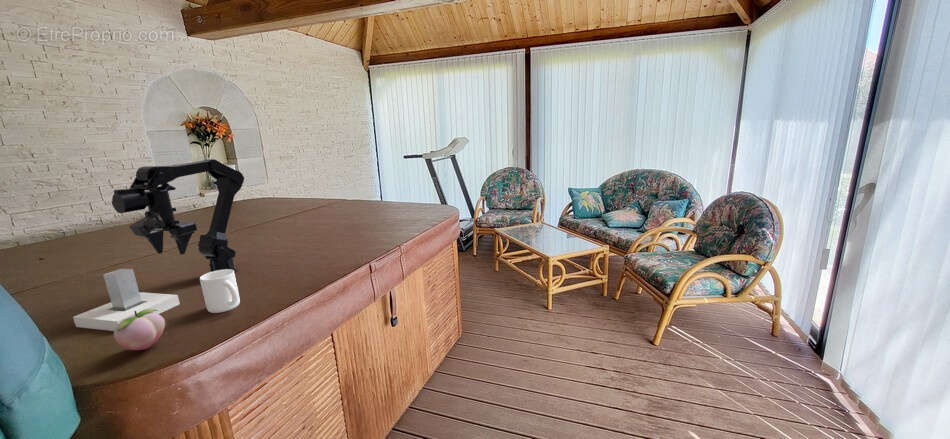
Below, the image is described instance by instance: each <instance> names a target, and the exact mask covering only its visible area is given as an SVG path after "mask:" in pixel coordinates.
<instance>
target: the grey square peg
mask: <svg viewBox="0 0 950 439" xmlns="http://www.w3.org/2000/svg"><path fill="white" fill-rule="evenodd" d="M102 276H103V279H104V282H105V286H106V289H107V291H108V292H107V293H108V296H109V299H110V302H111V303H112V306H113V310H114V311H126V310H129V309H131V308H133V307H136V306H138V305H141V304H142V301H141V297H140V293H139V292H140V291H139V287H138V286H139V285H138V283H137V279H136V276H135V271H134V269H133V268H119V269H116V270H113V271H110V272H106V273H104V274H103V275H102Z"/></svg>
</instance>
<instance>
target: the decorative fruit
mask: <svg viewBox="0 0 950 439" xmlns="http://www.w3.org/2000/svg"><path fill="white" fill-rule="evenodd" d="M153 311H158V310H156V309H146V310H143V311H140V312H138V313H136V311H134V313H135V314H134V315H131V316H129V317H127V318H125V319H123V320H122V321H121V322H120V323H119V324H118V325H117V326H116V328H115V330H114V331H113V338H114V340H115V342H116V343H117V344H118V345H119V346H121V347H122V348H124V349H126V350H129V351H144V350H147V349H149V348H150V347H152V345H154V344H155V343H156V342H157V341H158V340H159V339H160V338H161V336H162V334H163V332H164V330H165V327H166V320H165V318H164V317H163V316H162V315H161V314H157V313H153Z"/></svg>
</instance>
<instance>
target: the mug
mask: <svg viewBox="0 0 950 439" xmlns="http://www.w3.org/2000/svg"><path fill="white" fill-rule="evenodd" d="M235 273H236V272H234V270H231V269H224V270H217V271H213V272H211V271H210V272H206V273H204V274H202V275H201V276H200V277H199V282H200V285H201V286H200V287H201V290H202V294H203V298H204V304H205V307H206V309H207V310H206V311H208V312H209V313H210V314H212V313H213V314H219V313H225V312H228V311H231V310H233V309H235V308H237V307H238V306H239V305H240V303H241V300H240V299H241V298H240V294H239V288H238V284H237V280H236V275H235Z"/></svg>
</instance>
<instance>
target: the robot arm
mask: <svg viewBox="0 0 950 439" xmlns="http://www.w3.org/2000/svg"><path fill="white" fill-rule="evenodd" d="M206 172H207V173H208V174H209V176H210V177H211V178H212V179H214V180H216V182H215V183H216V187H217V191H218V194H217V199H216V203H215V207H214V210H213V214H212V219H211V223H210V226H209V230H208V231H207V233H205V234H200V236H199V241H198V243H197V247H198V251H199V253H200V254H201V255H202V256H204V257H205V259H206V260H209V270H210V272H213V271H217V270H224V269H231V270H234V273H236V272H237V271H238V268H235V263H234V258H236V251H235V250H234V249H232V248H230V247H229V245H228V244H229V240H228V237H227V233H226V232H227V229H228V224H229V219H230V216H231V211H232V208H233V204H234V199H235V196H236V195H237V194H238V192H239V191H240V190H241V189H242V186H243V184H244V182H245V176H244V175H243V173H242V172H241V171H239V170H235V169H234V168H232V167H231V166H228V165H226V164H223V163H222V162H221V161H218V160H217V159H214V158H207V159H206V158H205V159H203V160H198V161H193V162H186V163H182V164H181V163H180V164H175V165H168V166H167V165H154V166H153V165H152V166H150V165H149V166H147V165H146V166H139V168H137V170H136V171H135V178H134V180H133V181H132V183H131V185H130V187H129V188H127V189H126V188H125V189H121V188H120V189H114V190H113V195H112V197H111V200H112V201H111V205H112V207H113V209H114V210H115V211H116V212H117V213H118V214H125V213H132V212H136V211H142V210H146V208H147V210H146V211H144V217H142V218H141V219H138V220H137V221H134V222H133V223H131V224H130V225H129V230H131V231H132V233H133V234H134V236H138V237H141V238H144V239H146V240H147V241H148V242H149V243H150V245H151V246H152V247H153V249H154V250H155V251H156V253H157V254H159V255H160V254H163V250H164V232H168V233H169V234H170V235H169V237H170V238H171V239H174V241H175V243H176V246H177V250H178V252H179V254H180V255H186V252H187V248H188V246H189V244H190V240H191V238H192V235H193V234H195V232H196V231H198V228H197V224H196V223H194V222H191V221H187V222H180V221H179V219H177V220H176V217H175V215H174V212H177V209H176V208H177V207H173V205H172V202H171V201H172V200H171V196H170V191H176V187H175V186H173V185H171V184H169V183H170V182H173V181H175V180H176V179H178V178H181V177H186V176H190V175H191V176H192V175H196V174H202V173H206Z"/></svg>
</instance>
